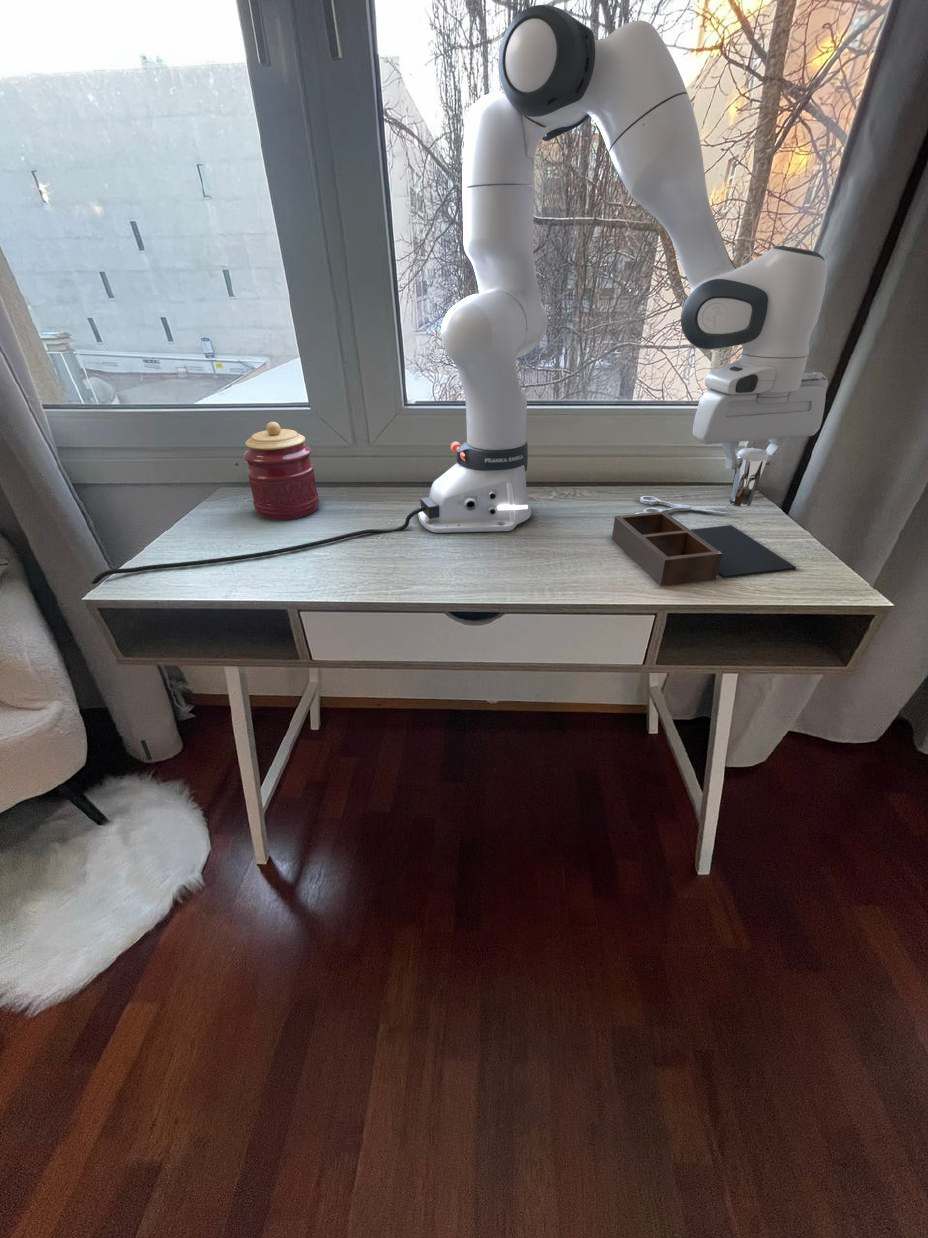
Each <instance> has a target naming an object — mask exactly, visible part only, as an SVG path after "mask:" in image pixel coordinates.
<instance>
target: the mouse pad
mask: <svg viewBox="0 0 928 1238" xmlns="http://www.w3.org/2000/svg"><path fill="white" fill-rule="evenodd" d="M690 530H691V531H692V532H694V533H695V534H696V535H698V536H699V537H700V538H702V539H703V540H705V541H706V542H707V543H709V544H710V545H711V546H713V547H714V548H716V549H717V550H718V551H720V552H721V553H722V558H721V562H720V566H719V571H718V575H719V576H720V577H721V578H722V579H728V578H735V577H736V578H737V577H743V576H744V577H745V576H754V575H761V574H769V573H777V572H784V571H785V572H786V571H792V570H793V571H794V570H796V569H797V566H795V565H793V564H792V563H791V562H789V561H787V560H786V559H784V558H783V557H781V556H780V555H778V554H777V553H775V552H773V551H772V550H770V549H769V548H768V547H765V545H763V544H761V543H759V542H758V541H757V540H755V539H754V538H751V537H750V536H749V535H747V534H745V533H744V532H742V531H741V530H740V529H738V528H737V527H735V526H734V525H732V524H731V525H721V526H711V527H710V526H709V527H701V528H693V529H690ZM718 575H717V576H718Z"/></svg>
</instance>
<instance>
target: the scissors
mask: <svg viewBox="0 0 928 1238" xmlns="http://www.w3.org/2000/svg"><path fill="white" fill-rule="evenodd" d="M639 502H640V503H642V504H645V505H650V506H651V505H652V506H653V505H662V506H663V505H664V506H667V507H670V508H656V507H647V508H644V509H643V510H642V511H640V512H639V511H638V512H634V514H643V513H653V512H663V511H665V512H666V513H668V514H670V513H673V512H684V511H696V512H705V513H706V512H707V513H714V514H715V513H716V514H724V515H734V512H733V513H732V512H727V511H726V512H725V511H719V510H712V509H719V508H720V509H721V508H723V509H724V508H725V506H721V505H718V506H717V505H689V504H681V503H675V502H670V501H667V500H662V499H659V498H658V497H655V496H653V495H642V496H640V497H639ZM736 515H737V516H739V515H740V516H741V514H739V513H736Z"/></svg>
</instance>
